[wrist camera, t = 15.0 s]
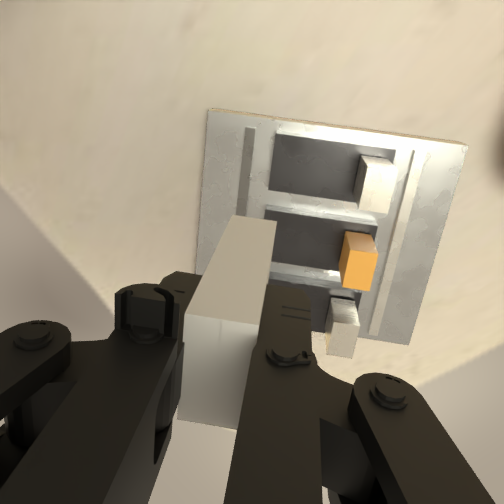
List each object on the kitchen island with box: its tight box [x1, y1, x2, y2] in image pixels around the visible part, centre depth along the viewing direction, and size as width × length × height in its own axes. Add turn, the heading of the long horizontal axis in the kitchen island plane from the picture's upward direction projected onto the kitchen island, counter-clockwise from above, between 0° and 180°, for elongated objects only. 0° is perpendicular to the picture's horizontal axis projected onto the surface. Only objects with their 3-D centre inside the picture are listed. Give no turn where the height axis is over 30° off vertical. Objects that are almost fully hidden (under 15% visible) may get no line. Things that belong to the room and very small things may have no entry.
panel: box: [195, 108, 468, 359], centre depth 37 cm, size 20×18×8 cm
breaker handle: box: [339, 231, 378, 291], centre depth 35 cm, size 2×3×4 cm, turn 173°
